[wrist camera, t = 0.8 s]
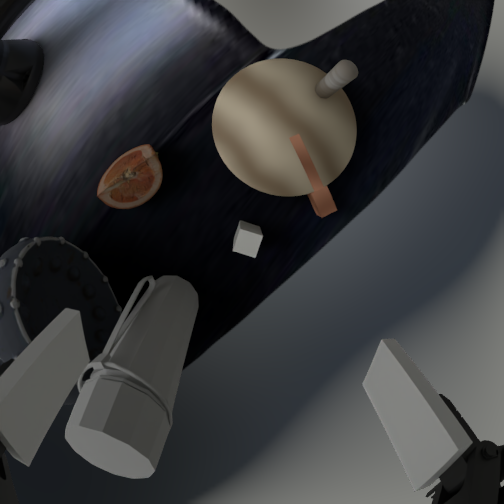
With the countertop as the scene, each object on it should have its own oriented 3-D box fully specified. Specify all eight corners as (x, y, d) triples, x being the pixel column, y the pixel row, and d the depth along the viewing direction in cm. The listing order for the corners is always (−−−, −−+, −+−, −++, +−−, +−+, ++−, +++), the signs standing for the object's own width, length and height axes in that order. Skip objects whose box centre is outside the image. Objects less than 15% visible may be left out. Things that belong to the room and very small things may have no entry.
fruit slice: (155, 135, 30) (142, 130, 25) (180, 181, 32) (170, 183, 27) (103, 172, 31) (84, 173, 26) (127, 215, 33) (110, 223, 28)
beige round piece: (300, 237, 33) (324, 264, 24) (185, 130, 29) (163, 114, 20) (385, 149, 31) (432, 146, 21) (280, 43, 26) (294, 3, 17)
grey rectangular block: (240, 220, 34) (240, 228, 29) (259, 226, 34) (263, 236, 29) (233, 239, 34) (232, 250, 29) (253, 245, 35) (255, 257, 30)
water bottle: (209, 314, 37) (182, 484, 13) (158, 325, 37) (96, 475, 13) (187, 251, 34) (106, 401, 10) (134, 266, 35) (21, 396, 11)
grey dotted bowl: (77, 211, 32) (-31, 254, 13) (150, 330, 38) (101, 437, 18) (36, 246, 33) (-55, 298, 14) (102, 351, 39) (49, 440, 19)
